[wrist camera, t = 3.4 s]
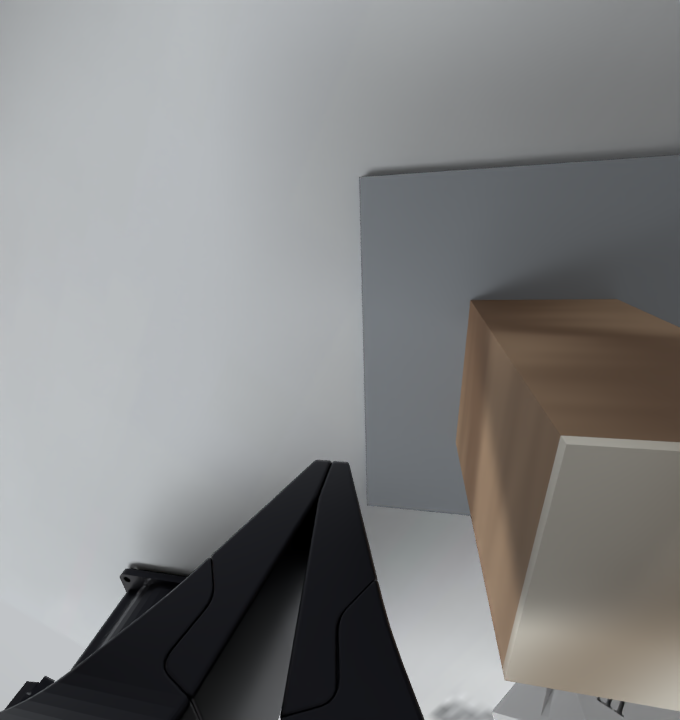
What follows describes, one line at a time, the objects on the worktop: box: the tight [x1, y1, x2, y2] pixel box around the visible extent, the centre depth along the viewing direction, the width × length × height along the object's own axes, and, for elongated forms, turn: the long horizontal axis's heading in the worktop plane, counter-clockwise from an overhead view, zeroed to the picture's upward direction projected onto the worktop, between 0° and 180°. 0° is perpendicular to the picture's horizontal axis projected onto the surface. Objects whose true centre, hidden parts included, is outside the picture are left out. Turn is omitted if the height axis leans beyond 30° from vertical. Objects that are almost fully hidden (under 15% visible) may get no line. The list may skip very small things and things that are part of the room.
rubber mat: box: [359, 155, 680, 516], centre depth 12 cm, size 17×14×1 cm
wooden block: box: [456, 299, 680, 711], centre depth 9 cm, size 4×6×8 cm
